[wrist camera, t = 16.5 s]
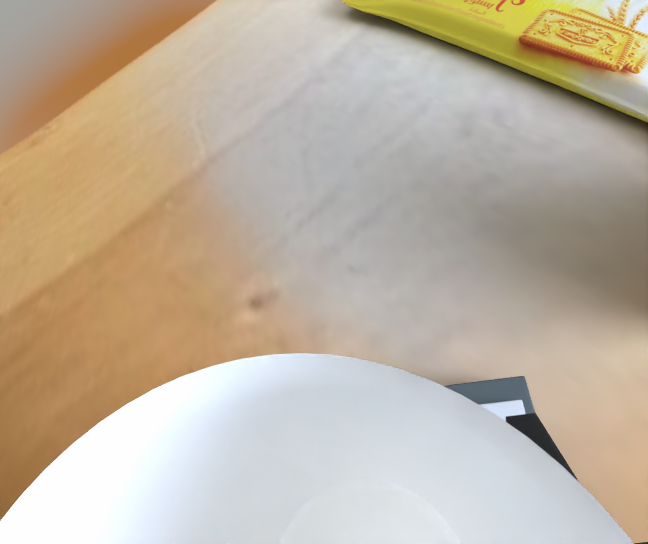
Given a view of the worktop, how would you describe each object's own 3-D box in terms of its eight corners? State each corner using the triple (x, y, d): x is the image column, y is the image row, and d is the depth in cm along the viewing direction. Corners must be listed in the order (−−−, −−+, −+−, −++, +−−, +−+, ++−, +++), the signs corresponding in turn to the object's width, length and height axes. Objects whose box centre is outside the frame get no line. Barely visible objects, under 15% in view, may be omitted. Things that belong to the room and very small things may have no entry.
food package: (336, -15, 32) (424, -90, 35) (341, 16, 34) (423, -57, 37) (784, 158, 21) (869, 29, 23) (752, 189, 23) (832, 67, 25)
